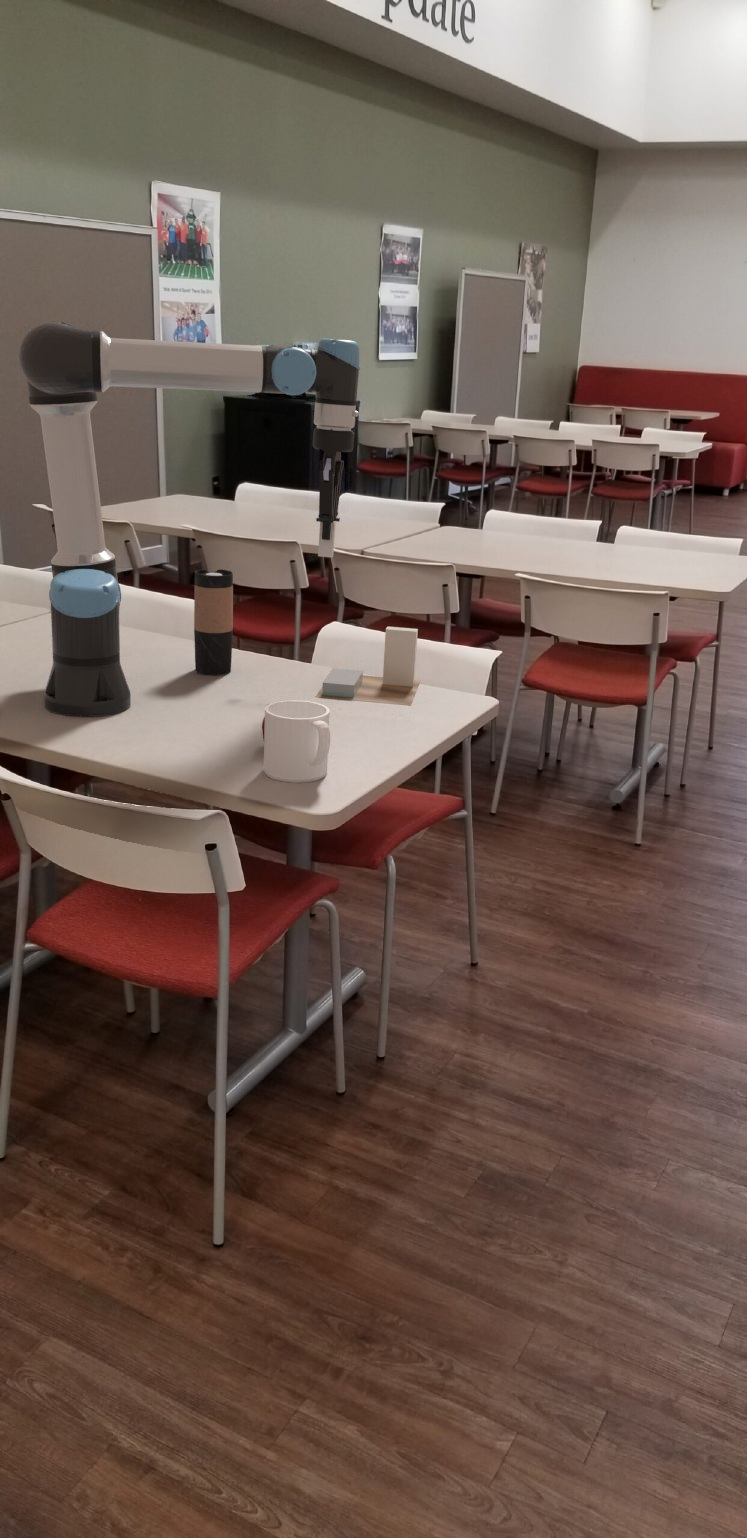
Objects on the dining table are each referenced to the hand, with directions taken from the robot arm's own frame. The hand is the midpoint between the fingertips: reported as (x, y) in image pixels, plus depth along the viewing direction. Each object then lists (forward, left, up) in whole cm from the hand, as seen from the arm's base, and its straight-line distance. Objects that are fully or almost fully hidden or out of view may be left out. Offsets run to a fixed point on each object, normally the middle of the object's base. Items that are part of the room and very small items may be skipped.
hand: (325, 556), depth 227 cm
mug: (-52, -6, -26) cm, 58 cm away
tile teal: (0, -5, -23) cm, 24 cm away
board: (-4, -10, -25) cm, 28 cm away
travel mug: (+3, +23, -26) cm, 34 cm away
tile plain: (+1, -15, -24) cm, 29 cm away
